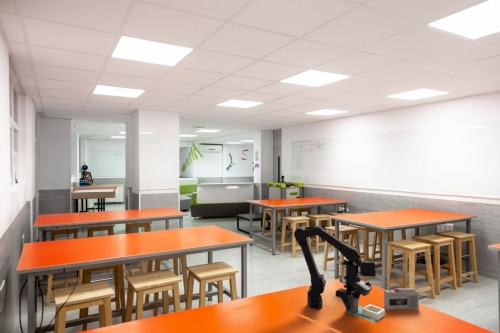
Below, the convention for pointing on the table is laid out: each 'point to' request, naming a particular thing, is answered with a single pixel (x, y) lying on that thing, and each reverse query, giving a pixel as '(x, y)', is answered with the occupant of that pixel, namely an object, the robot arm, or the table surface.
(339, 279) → the mechanical component
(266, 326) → the table surface
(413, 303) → the cassette player
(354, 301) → the plug
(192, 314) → the table surface
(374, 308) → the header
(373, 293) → the table surface
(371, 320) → the board
